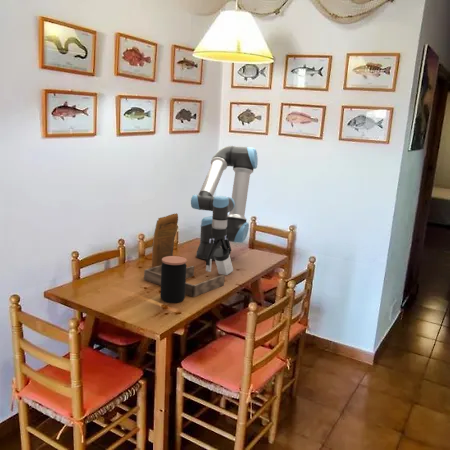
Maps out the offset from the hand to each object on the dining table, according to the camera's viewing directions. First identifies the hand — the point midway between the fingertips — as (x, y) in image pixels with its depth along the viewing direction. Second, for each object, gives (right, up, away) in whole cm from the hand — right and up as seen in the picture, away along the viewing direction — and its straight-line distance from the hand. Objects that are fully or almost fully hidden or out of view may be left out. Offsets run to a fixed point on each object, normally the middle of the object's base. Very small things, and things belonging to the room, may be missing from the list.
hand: (216, 268), depth 234 cm
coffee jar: (-19, -10, -32) cm, 39 cm away
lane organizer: (-16, -6, -10) cm, 20 cm away
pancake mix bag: (-28, 0, +13) cm, 31 cm away
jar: (+4, -2, +7) cm, 9 cm away
